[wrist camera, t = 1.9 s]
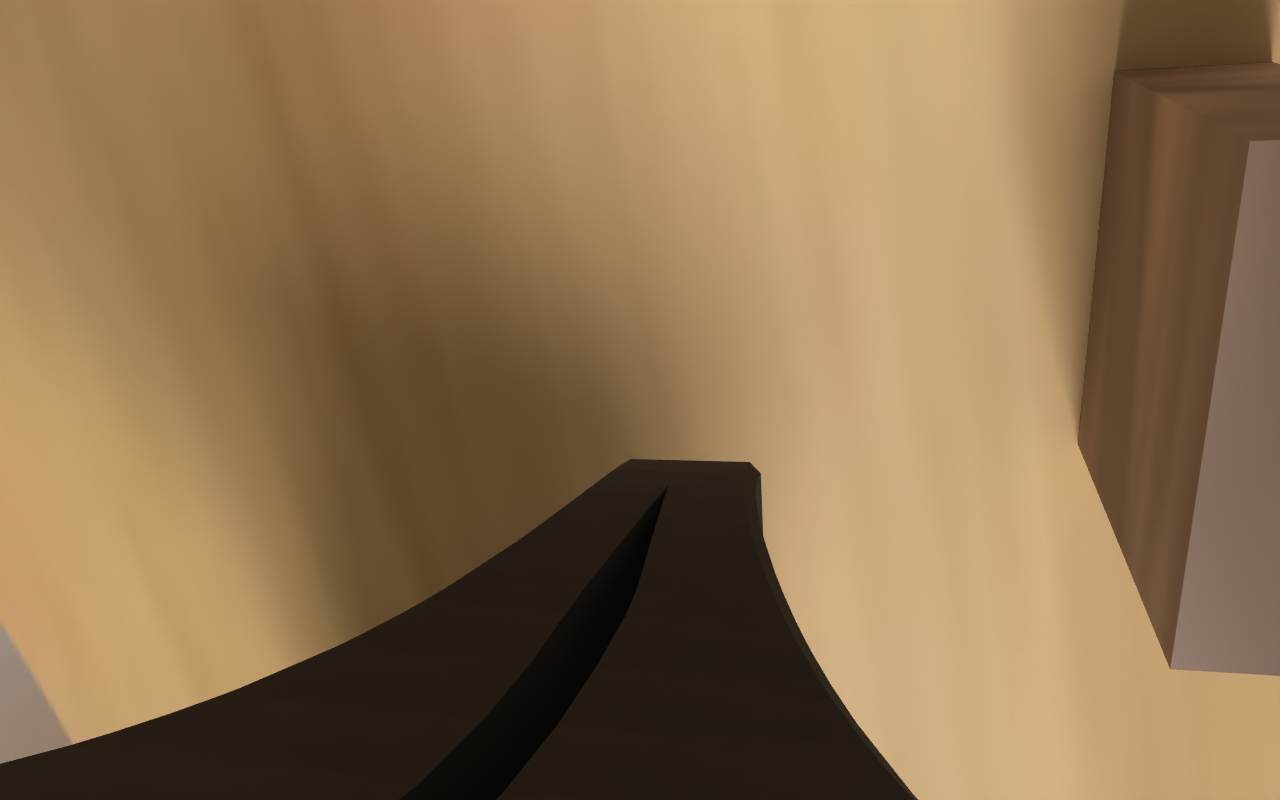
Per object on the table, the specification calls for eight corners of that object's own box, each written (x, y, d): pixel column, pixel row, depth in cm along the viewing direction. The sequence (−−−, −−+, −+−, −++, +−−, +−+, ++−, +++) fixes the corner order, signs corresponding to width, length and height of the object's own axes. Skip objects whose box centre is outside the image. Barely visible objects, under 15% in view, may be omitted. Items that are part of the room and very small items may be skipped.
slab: (1077, 443, 20) (1169, 669, 14) (1114, 71, 17) (1250, 141, 11) (1211, 445, 20) (1372, 681, 13) (1271, 61, 17) (1506, 130, 11)
